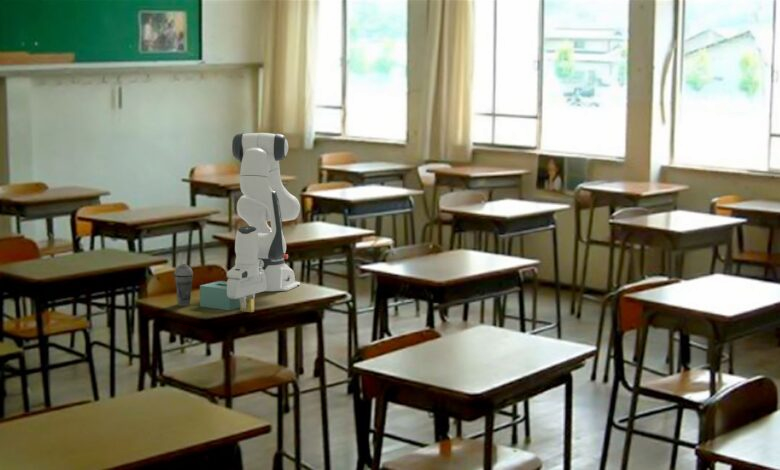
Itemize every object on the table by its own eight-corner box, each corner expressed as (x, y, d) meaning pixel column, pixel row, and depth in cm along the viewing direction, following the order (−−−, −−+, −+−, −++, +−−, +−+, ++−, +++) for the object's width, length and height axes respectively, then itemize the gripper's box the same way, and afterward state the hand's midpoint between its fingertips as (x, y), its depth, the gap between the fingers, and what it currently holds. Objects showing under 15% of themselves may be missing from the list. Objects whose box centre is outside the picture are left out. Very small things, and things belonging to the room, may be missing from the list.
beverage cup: (191, 306, 458) (191, 254, 455) (172, 306, 458) (171, 254, 455) (195, 302, 465) (194, 251, 462) (176, 302, 465) (175, 251, 462)
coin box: (219, 300, 469) (219, 280, 468) (248, 305, 462) (248, 284, 461) (200, 306, 459) (199, 285, 458) (229, 310, 452) (229, 289, 451)
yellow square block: (243, 309, 454) (243, 296, 453) (254, 311, 451) (254, 298, 451) (240, 310, 452) (240, 297, 451) (251, 312, 450) (251, 299, 449)
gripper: (256, 265, 460) (256, 301, 462) (223, 273, 442) (223, 310, 444) (270, 267, 457) (270, 303, 459) (237, 275, 439) (237, 312, 441)
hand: (247, 306), depth 451 cm, fingers closed on yellow square block, 2 cm apart
